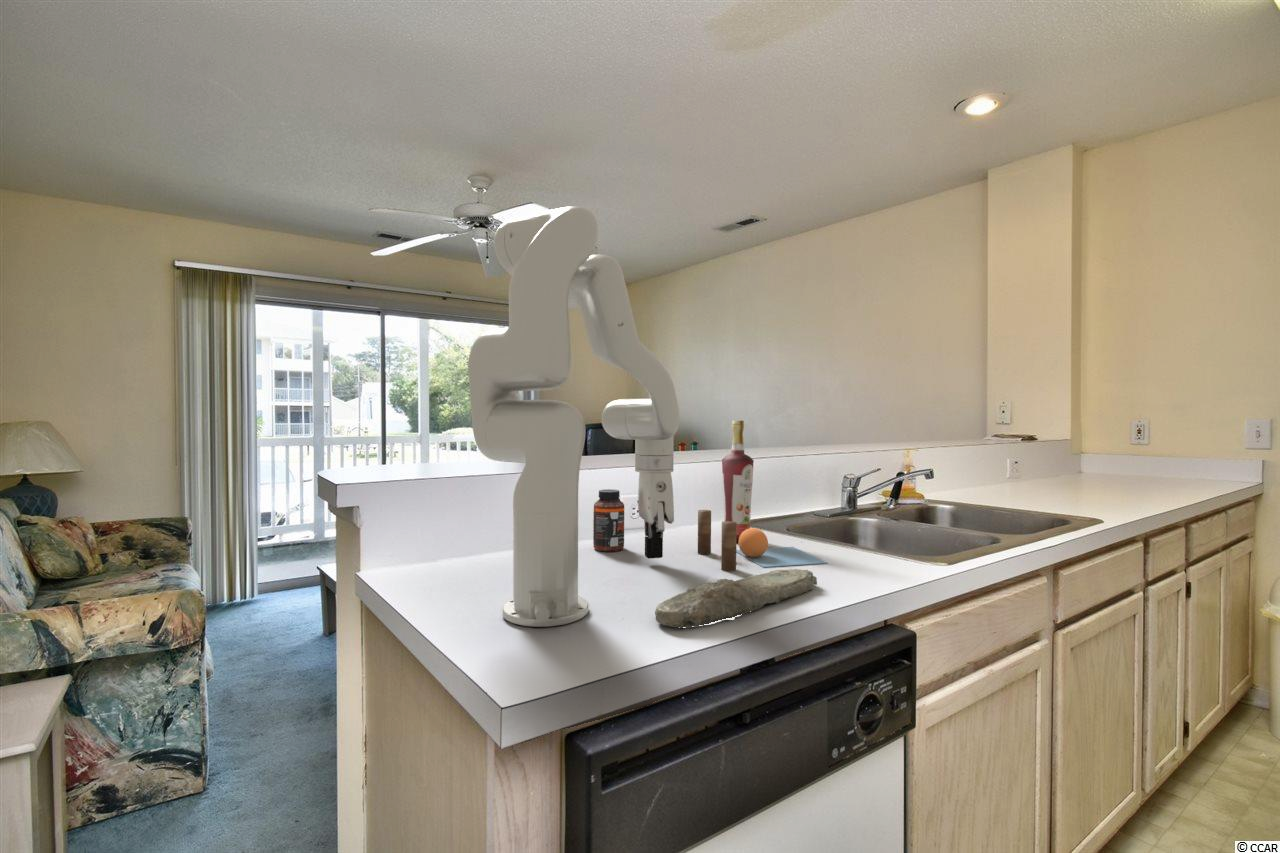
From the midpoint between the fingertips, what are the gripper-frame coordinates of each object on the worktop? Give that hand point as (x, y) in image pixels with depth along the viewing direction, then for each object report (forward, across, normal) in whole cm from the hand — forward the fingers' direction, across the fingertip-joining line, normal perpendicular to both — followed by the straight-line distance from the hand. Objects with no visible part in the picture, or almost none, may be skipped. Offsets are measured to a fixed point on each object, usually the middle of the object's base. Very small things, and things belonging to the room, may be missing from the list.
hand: (653, 557), depth 115 cm
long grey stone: (+2, -26, -8) cm, 27 cm away
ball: (-2, +1, -22) cm, 22 cm away
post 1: (+2, +7, -13) cm, 15 cm away
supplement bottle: (+2, +15, +6) cm, 16 cm away
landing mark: (+2, 0, -27) cm, 27 cm away
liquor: (+2, +17, -25) cm, 30 cm away
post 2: (+2, -7, -13) cm, 15 cm away
